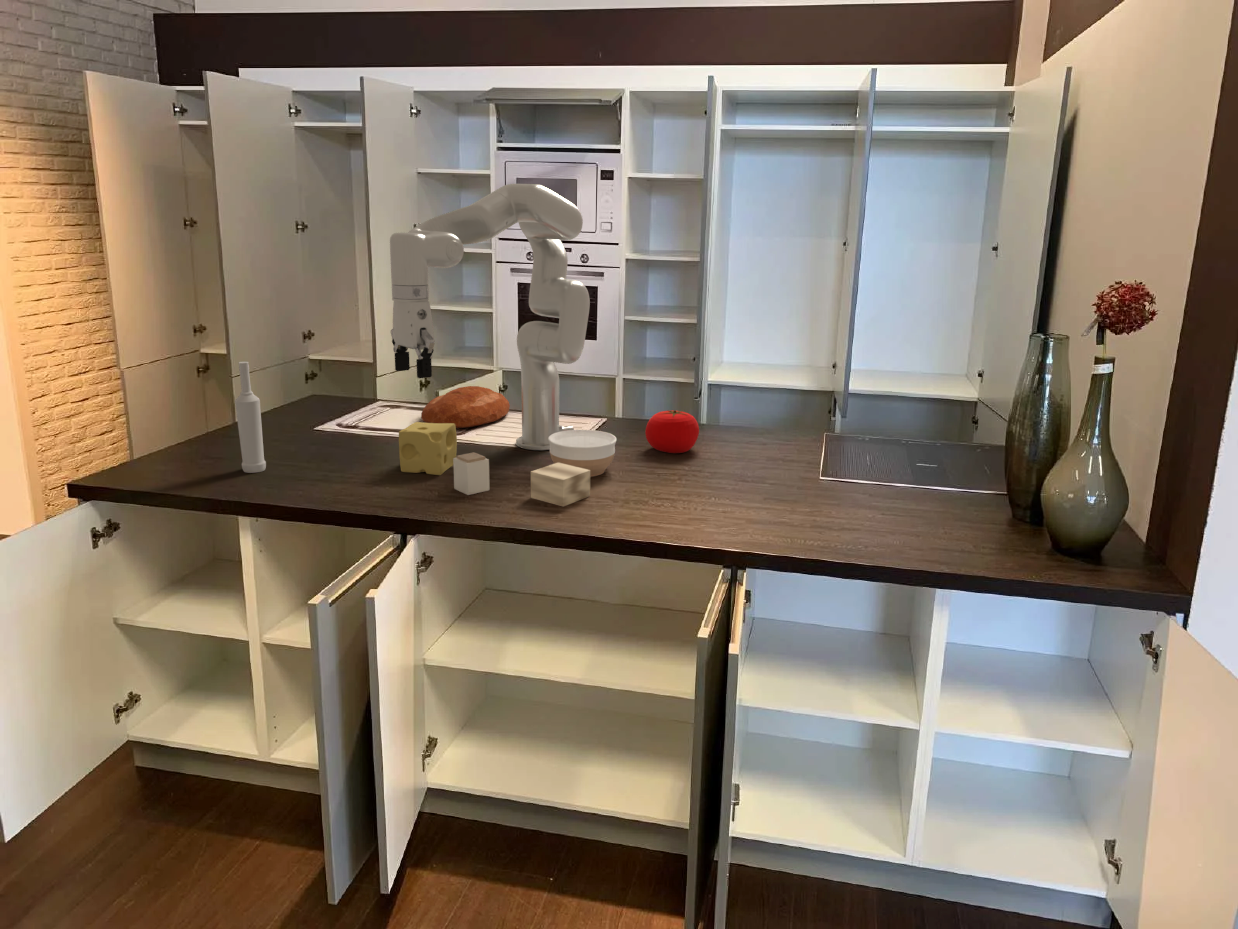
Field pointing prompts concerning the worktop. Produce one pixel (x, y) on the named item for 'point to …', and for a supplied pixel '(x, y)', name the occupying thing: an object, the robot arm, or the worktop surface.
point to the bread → (466, 407)
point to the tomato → (672, 431)
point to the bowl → (583, 449)
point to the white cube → (471, 473)
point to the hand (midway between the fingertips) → (413, 373)
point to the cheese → (427, 447)
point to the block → (560, 484)
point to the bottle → (249, 424)
